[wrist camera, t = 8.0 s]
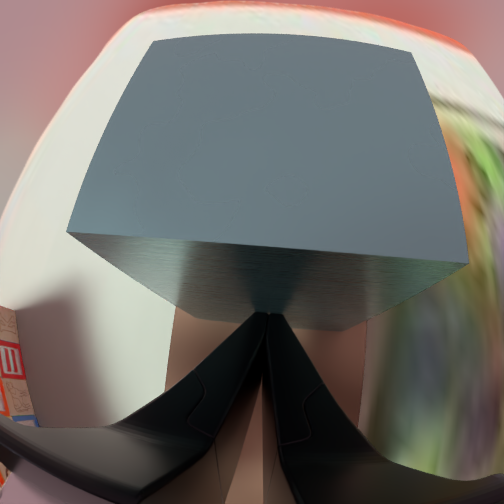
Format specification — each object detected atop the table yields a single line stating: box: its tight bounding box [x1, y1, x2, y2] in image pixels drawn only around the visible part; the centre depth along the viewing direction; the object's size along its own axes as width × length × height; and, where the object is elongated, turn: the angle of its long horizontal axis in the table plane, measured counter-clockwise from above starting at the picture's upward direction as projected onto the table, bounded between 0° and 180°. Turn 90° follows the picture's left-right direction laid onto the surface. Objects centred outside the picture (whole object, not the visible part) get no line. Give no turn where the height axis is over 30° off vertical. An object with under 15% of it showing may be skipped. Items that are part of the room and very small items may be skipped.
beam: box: [165, 306, 367, 504], centre depth 15 cm, size 25×9×5 cm, turn 174°
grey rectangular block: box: [66, 34, 469, 332], centre depth 9 cm, size 5×6×9 cm
